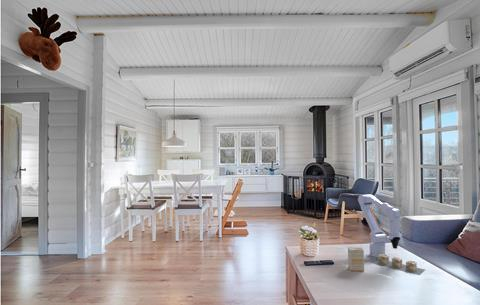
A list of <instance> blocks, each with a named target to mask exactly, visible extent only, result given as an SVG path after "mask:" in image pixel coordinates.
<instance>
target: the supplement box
mask: <svg viewBox="0 0 480 305" xmlns="http://www.w3.org/2000/svg"><path fill="white" fill-rule="evenodd" d="M364 252H365V250H364V249H363V248H362V247H351V246H350V247H347V257H348V264H347V265H348V270H349V271H350V272H365V256H364Z"/></svg>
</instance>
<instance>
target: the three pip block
mask: <svg viewBox="0 0 480 305" xmlns="http://www.w3.org/2000/svg"><path fill="white" fill-rule="evenodd" d="M405 265H406V270H410V271H416V270H417V268H418V266H417V261H413V260H409V259H408V260H407V261H406V262H405Z"/></svg>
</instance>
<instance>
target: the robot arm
mask: <svg viewBox="0 0 480 305" xmlns="http://www.w3.org/2000/svg"><path fill="white" fill-rule="evenodd" d="M357 201H358V203H359V206H360V209H361V211H362V213H363V215H364V218H365V219H366V223H367V224H368V227H369V229H370V233H369V236H370V241H371V242H370V243H369V256H371V257H375V258H379V255H381V254H383V255H386V244H387V242H388V240H390V242H391V246H392V249H396V250H397V249H398V247H399V242H400V240H401V237H402V236H403V235H402V234H401V230H400V218H401V216H402V211H401V210H400V209H399V208H396V207H394V206H391V205H390V204H389V203H388V202H381V201H380V199H378V198H377V197H375V195H373V194H371V193H369V194H360V195H358V197H357ZM373 204H374V205H375V206H377V207H378V208H379V210H381V211H382V212H383V213H385V214H387V217H388V220H389V235H388V236H387V234H386V233H385V231H384V230H382V229H381V228H380V227H379V225H378V223H377V220H376V219H375V217H374V214H373V212H372V211H371V209H370V208H371V207H372V205H373Z"/></svg>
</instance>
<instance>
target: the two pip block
mask: <svg viewBox="0 0 480 305" xmlns="http://www.w3.org/2000/svg"><path fill="white" fill-rule="evenodd" d="M378 258H379V263H382V264H388V263H389V261H390V259H389V258H390V256H389V255H386V254H385V255H383V254H381V255H379V257H378Z"/></svg>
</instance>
